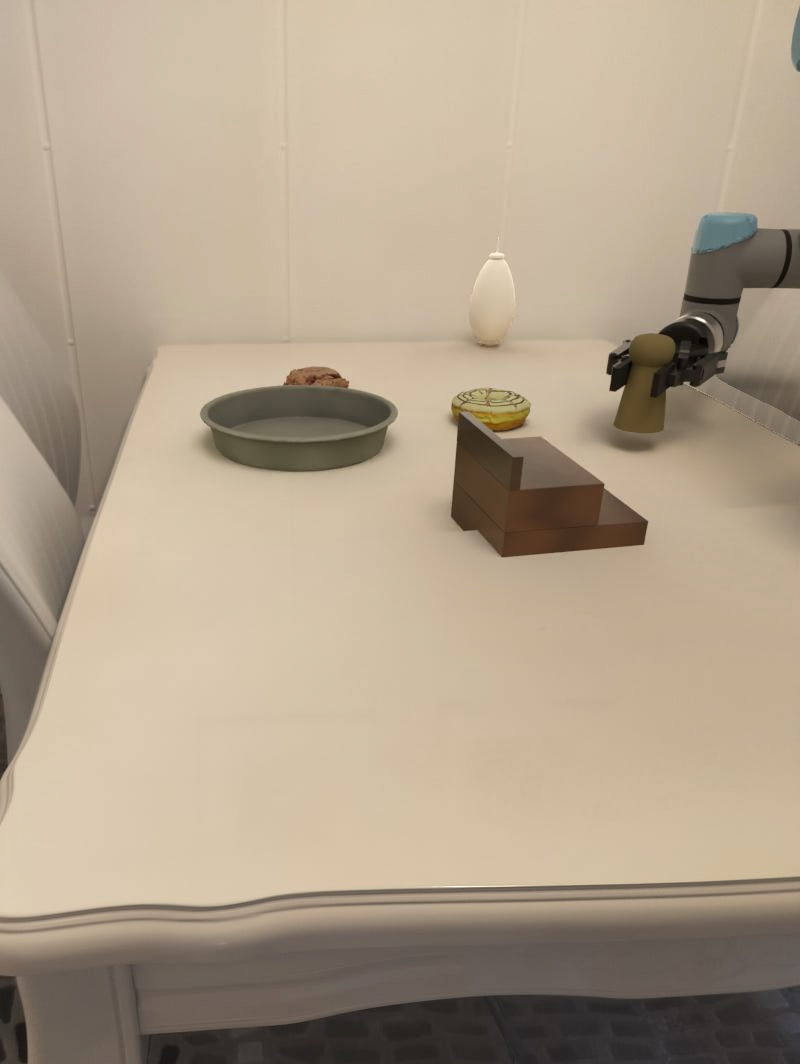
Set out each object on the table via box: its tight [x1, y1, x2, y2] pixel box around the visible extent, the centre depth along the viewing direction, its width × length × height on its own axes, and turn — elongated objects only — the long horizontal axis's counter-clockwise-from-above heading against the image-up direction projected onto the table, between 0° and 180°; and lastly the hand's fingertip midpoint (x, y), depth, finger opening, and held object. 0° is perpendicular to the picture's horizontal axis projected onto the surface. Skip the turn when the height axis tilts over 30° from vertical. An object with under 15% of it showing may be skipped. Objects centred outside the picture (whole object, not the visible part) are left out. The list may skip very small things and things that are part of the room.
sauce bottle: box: [468, 236, 517, 347], centre depth 161 cm, size 8×8×18 cm
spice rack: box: [450, 412, 649, 558], centre depth 88 cm, size 14×14×11 cm
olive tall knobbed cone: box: [612, 332, 675, 435], centre depth 111 cm, size 6×6×11 cm
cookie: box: [282, 365, 350, 388], centre depth 138 cm, size 10×11×3 cm
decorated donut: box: [450, 387, 532, 432], centre depth 124 cm, size 10×11×4 cm
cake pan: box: [199, 384, 399, 472], centre depth 115 cm, size 25×25×4 cm
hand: (634, 382), depth 107 cm, fingers closed on olive tall knobbed cone, 4 cm apart
